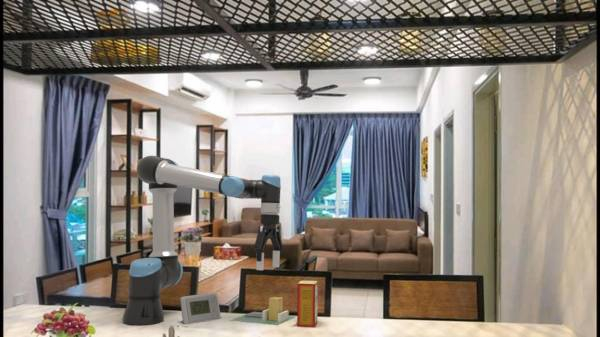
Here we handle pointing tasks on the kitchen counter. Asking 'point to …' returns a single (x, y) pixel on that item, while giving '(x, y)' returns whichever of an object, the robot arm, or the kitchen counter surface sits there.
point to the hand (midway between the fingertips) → (268, 268)
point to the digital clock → (200, 308)
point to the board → (264, 318)
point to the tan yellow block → (275, 307)
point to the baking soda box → (307, 303)
